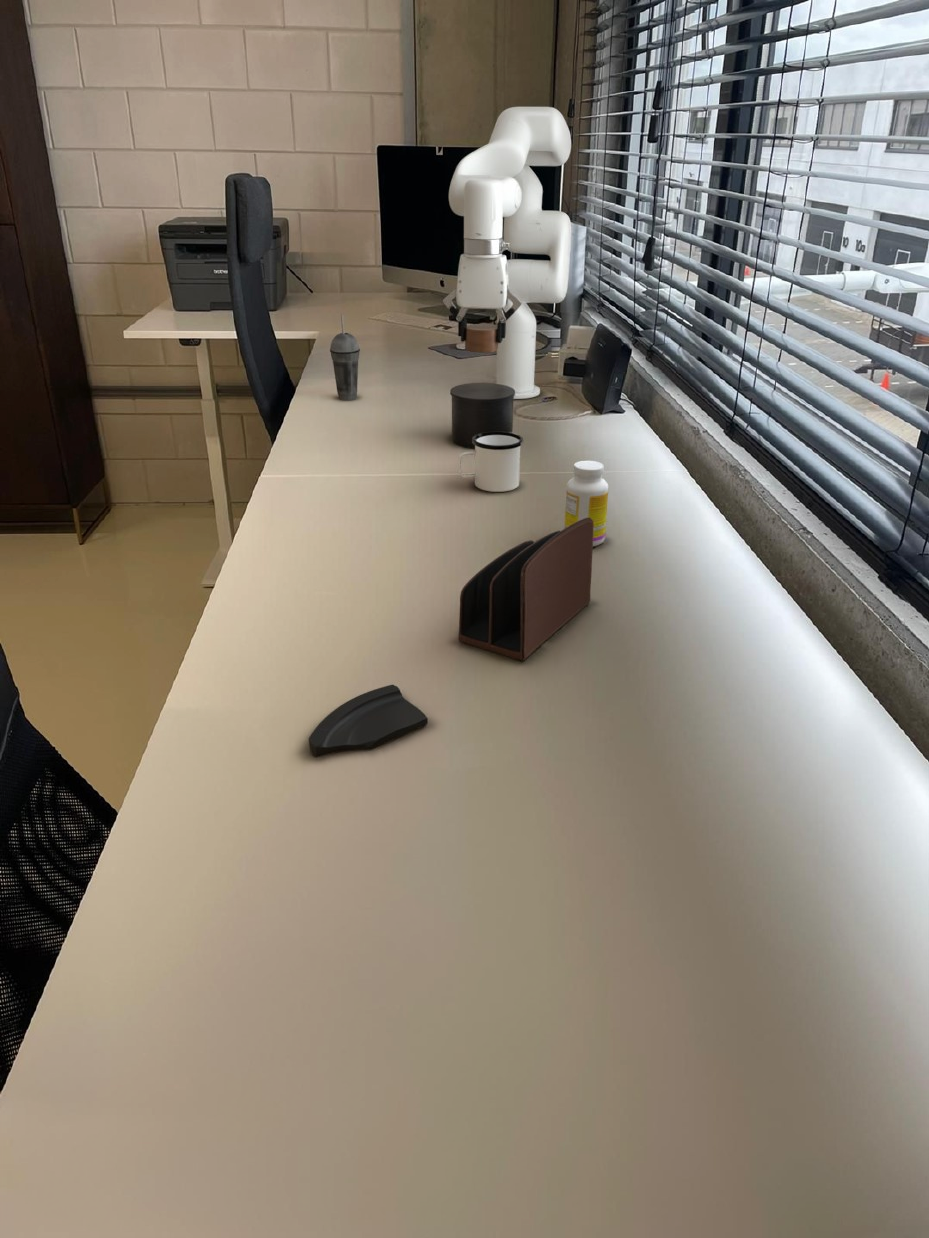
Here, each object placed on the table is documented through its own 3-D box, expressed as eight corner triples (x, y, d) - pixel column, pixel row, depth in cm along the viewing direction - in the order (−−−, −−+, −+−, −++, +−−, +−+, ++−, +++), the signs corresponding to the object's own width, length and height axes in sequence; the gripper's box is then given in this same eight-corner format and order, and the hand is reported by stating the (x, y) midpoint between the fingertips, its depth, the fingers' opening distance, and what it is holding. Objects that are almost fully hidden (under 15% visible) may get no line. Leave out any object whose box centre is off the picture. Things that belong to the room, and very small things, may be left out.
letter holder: (590, 603, 135) (597, 510, 128) (523, 663, 120) (527, 561, 113) (529, 586, 139) (532, 496, 133) (457, 642, 124) (457, 544, 118)
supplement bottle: (608, 535, 157) (614, 461, 151) (600, 550, 151) (606, 474, 145) (568, 530, 158) (573, 456, 152) (559, 545, 153) (563, 469, 147)
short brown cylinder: (468, 345, 198) (468, 323, 196) (500, 346, 197) (500, 324, 195) (462, 352, 192) (462, 329, 190) (495, 353, 191) (496, 331, 189)
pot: (456, 429, 210) (456, 381, 205) (517, 432, 208) (518, 384, 203) (444, 447, 198) (444, 397, 193) (509, 451, 196) (510, 400, 191)
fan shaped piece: (289, 731, 106) (288, 719, 106) (392, 694, 113) (392, 682, 112) (324, 767, 100) (323, 755, 100) (431, 726, 107) (431, 714, 106)
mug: (515, 475, 183) (516, 429, 179) (527, 492, 175) (529, 444, 170) (454, 479, 181) (454, 433, 176) (464, 496, 172) (464, 448, 168)
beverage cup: (365, 394, 236) (361, 311, 227) (359, 402, 230) (355, 317, 220) (336, 393, 237) (331, 311, 227) (329, 401, 230) (324, 316, 221)
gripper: (529, 247, 187) (526, 339, 195) (443, 245, 190) (443, 336, 198) (524, 251, 181) (521, 346, 189) (435, 249, 183) (436, 343, 192)
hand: (481, 340), depth 193 cm, fingers closed on short brown cylinder, 6 cm apart
